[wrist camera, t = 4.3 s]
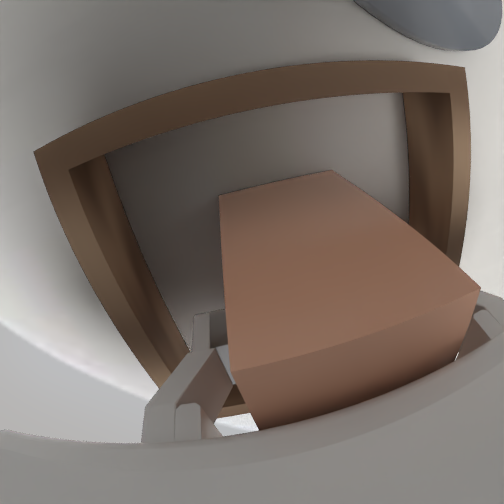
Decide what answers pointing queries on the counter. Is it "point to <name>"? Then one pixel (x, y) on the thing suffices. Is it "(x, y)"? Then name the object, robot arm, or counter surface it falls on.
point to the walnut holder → (225, 103)
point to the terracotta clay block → (332, 298)
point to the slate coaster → (440, 21)
